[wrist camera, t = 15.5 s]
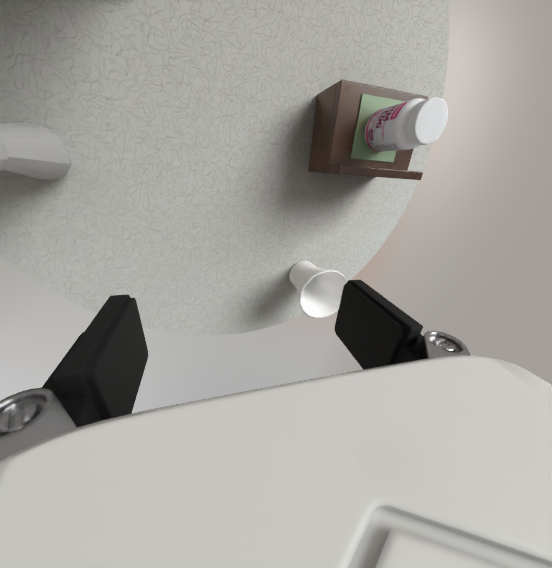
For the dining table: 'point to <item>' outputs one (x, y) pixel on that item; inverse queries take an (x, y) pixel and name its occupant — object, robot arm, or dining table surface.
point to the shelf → (355, 132)
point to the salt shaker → (32, 151)
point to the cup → (317, 289)
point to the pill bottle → (406, 125)
